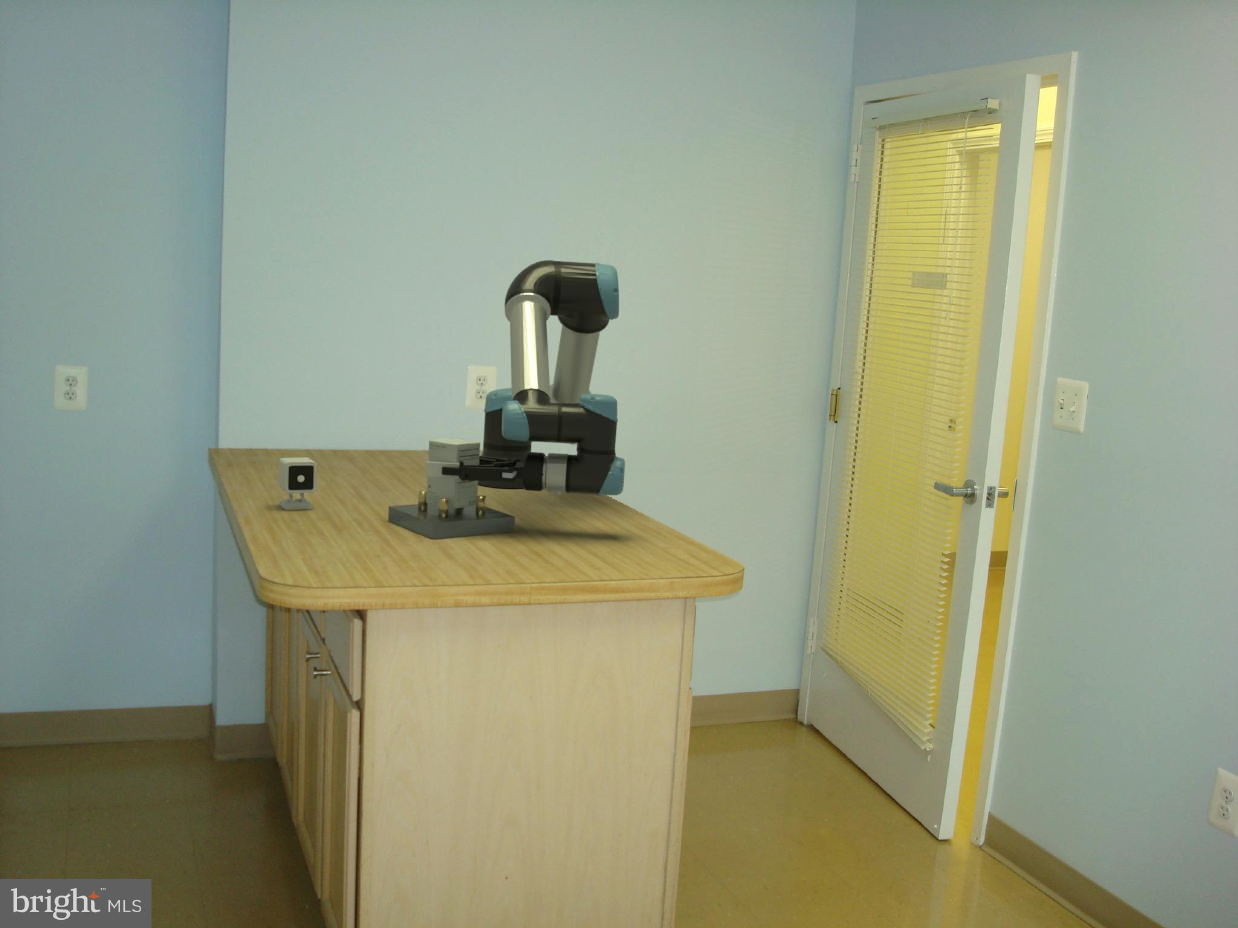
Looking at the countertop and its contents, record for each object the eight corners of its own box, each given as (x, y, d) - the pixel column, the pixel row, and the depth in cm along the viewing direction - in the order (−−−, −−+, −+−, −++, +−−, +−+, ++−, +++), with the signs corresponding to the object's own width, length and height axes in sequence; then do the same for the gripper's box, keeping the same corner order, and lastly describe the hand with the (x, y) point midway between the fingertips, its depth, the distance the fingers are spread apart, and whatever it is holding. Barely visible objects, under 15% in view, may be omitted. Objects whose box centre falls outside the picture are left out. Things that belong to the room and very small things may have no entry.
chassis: (467, 514, 240) (468, 483, 239) (514, 531, 226) (516, 498, 225) (388, 521, 228) (389, 488, 228) (432, 539, 215) (433, 504, 214)
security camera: (284, 511, 232) (285, 462, 231) (277, 505, 238) (278, 457, 237) (316, 510, 235) (317, 461, 233) (308, 504, 241) (309, 456, 240)
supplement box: (424, 503, 225) (427, 439, 223) (449, 499, 231) (452, 436, 230) (454, 509, 221) (456, 444, 220) (478, 504, 228) (481, 441, 226)
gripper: (538, 501, 214) (418, 493, 215) (549, 482, 236) (440, 475, 237) (540, 461, 213) (419, 453, 214) (551, 445, 235) (442, 439, 236)
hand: (430, 464), depth 225 cm, fingers closed on supplement box, 10 cm apart
